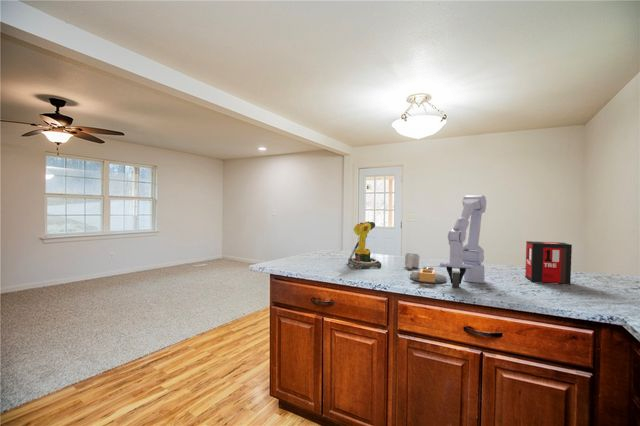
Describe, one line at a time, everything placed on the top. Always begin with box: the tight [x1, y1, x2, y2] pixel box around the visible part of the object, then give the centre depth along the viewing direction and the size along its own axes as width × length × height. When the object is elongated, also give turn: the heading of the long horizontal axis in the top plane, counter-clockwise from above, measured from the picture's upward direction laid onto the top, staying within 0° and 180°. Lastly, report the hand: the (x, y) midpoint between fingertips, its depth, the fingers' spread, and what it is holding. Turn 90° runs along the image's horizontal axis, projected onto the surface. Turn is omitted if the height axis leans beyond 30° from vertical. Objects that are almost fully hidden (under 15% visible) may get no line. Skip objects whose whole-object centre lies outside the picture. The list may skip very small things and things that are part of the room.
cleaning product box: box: [524, 240, 573, 286], centre depth 155 cm, size 16×9×20 cm, turn 73°
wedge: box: [451, 270, 460, 289], centre depth 144 cm, size 3×4×7 cm, turn 158°
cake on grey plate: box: [409, 266, 447, 285], centre depth 159 cm, size 18×18×6 cm
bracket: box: [411, 268, 436, 282], centre depth 153 cm, size 11×9×4 cm
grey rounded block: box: [404, 252, 420, 270], centre depth 185 cm, size 8×10×10 cm
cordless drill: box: [347, 221, 382, 270], centre depth 192 cm, size 18×19×28 cm
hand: (455, 283), depth 145 cm, fingers closed on wedge, 3 cm apart
